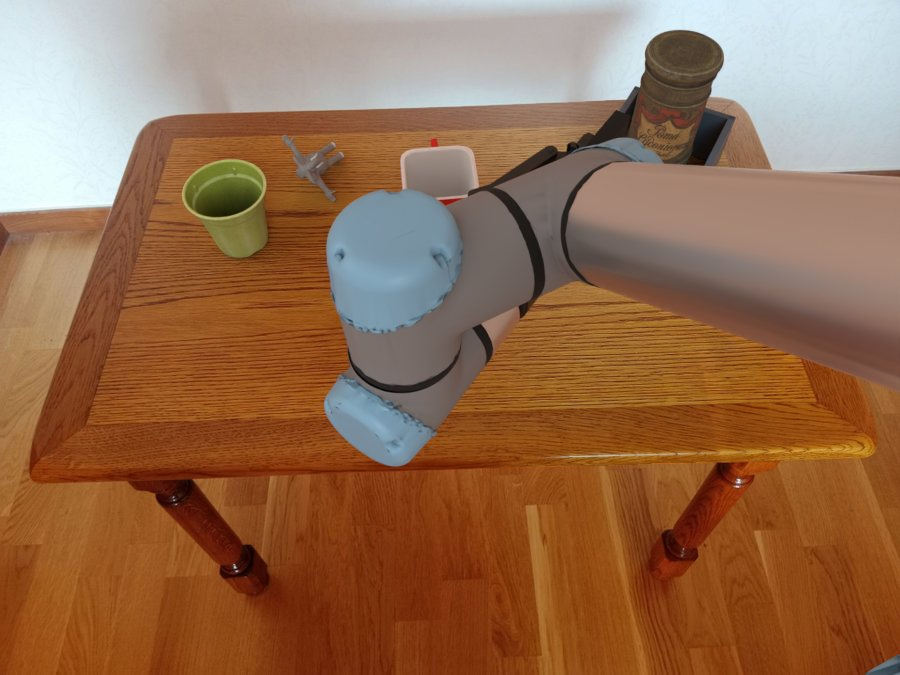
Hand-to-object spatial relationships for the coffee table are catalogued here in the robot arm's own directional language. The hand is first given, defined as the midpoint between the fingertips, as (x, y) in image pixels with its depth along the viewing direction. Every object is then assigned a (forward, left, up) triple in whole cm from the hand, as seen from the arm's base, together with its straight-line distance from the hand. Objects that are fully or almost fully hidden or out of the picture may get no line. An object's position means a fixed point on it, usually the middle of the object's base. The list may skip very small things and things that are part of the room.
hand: (620, 124), depth 66 cm
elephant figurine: (+26, +26, -21) cm, 42 cm away
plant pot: (+19, +37, -21) cm, 47 cm away
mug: (+12, +14, -21) cm, 28 cm away
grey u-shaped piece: (+11, -15, -21) cm, 28 cm away
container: (+11, -14, -21) cm, 27 cm away
